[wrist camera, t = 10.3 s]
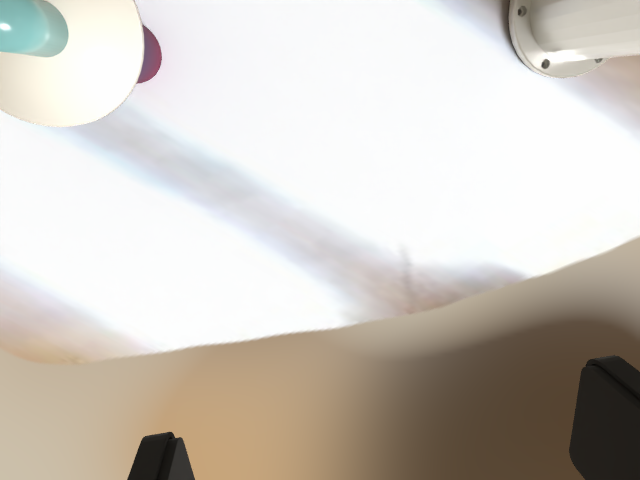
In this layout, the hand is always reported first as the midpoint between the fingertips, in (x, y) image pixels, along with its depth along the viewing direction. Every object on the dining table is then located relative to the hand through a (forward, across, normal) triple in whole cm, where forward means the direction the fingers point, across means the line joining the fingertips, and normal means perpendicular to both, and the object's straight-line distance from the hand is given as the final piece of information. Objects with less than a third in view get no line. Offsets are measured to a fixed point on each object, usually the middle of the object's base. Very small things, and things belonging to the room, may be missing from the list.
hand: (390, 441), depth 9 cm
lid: (+19, +13, -12) cm, 26 cm away
